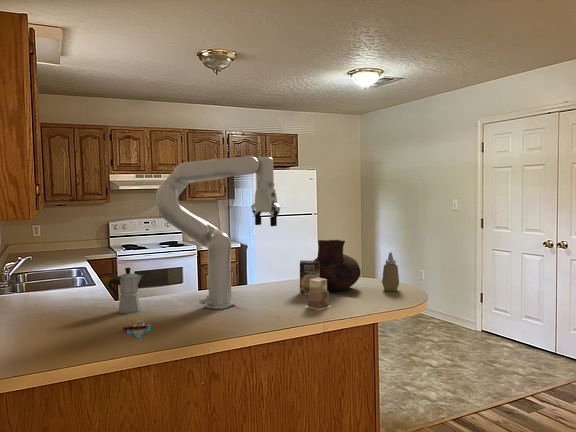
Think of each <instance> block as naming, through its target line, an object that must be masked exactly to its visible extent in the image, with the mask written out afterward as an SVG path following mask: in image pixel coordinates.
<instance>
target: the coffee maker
mask: <svg viewBox="0 0 576 432" xmlns="http://www.w3.org/2000/svg"><path fill="white" fill-rule="evenodd" d="M124 271H125V273H123V274H121V275H118V276H114V277H113V278H111V279H109V281H108V283H107V286H108V288H109V289H110V291H111V292H112V293H113V295H114V296H115V297H118V296H119V293H118V292H117V290H116V289H115V288H114V287H113V286H112V285H118V286H119V287H118V288H119V292H120V297H119V305H118V311H117V312H118V313H119V314H123V315H124V314H125V315H126V314H127V315H129V314H135V313H138V312H140V311H141V304H140V300H139V295H138V293H137V292H138V291H139V289H138V288H139V283H140V281H141V279H142V277H143V275H141V274H136V273H131V267H125V268H124Z"/></svg>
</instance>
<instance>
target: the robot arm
mask: <svg viewBox="0 0 576 432" xmlns="http://www.w3.org/2000/svg"><path fill="white" fill-rule="evenodd" d="M253 174H255V182H256V183H255V184H256V185H255V187H256V188H255V192H254V193H255V194H254V203H253V204H251V206H250V209H251V211H252V213H253V216H254V225H255V226H260V225H262V213H269V214H270V216H269V219H270V220H269V221H270V222H269V224H270V227H277V226H278V225H277V223H278V220H277V217H278V216H279V214H280V210H281V206H280V205H279V203H278V198H277V193H276V192H277V191H276V189H275V183H274V179H275V178H274V159H273V157H271V156H270V157H269V156H258V157H255V156H252V155H243V156H237V157H229V158H226V157H225V158H213V159H205V160H197V161H196V160H195V161H194V160H193V161H185V162H181V163H179V164H178V165H176V166H175V168H174V169H173V170H172V172H171V173H170V174H169V175H168V177H167V178H166V179H165V180H164V181H163V182H162V183H161V185H159V186H158V188H157V190H156V194H155V195H156V199H155V200H156V207H157V210H158V214H160V216H161V217H162V219H163V220H164V221H166V222H167V223H168V224H170V225H171V226H173V227H174V228H176V229H178V231H180V232H182V233H184V234H185V235H186V236H188V238H190V239H192V240H194V241H196V242H198V243H199V244H200V245H202V246H204V247H206V248H207V280H208V281H207V282H208V295H206V298H204V299H200V300H199V305H201V306H202V305H204V304H205V307H206V308H207V309H212V310H223V309H229V308H232V307H235V304H236V301H235V300H233V299H232V269H231V267H232V266H231V265H232V264H231V258H232V257H231V256H232V255H231V254H232V242H231V239H230V237H229V235H228V234H227V233H225V232H224V231H222V230H221V229H219V228H217V227H216V226H215V225H213V224H211V223H209V222H208V221H207V220H205V219H204V218H202V217H200V216H197V215H195V214H194V213H192V212H191V211H189V210H187V209H186V208H185V207H183V206H182V205H181V204H180V203H179V201H178V199H179V196H180V195H181V194H182V193H183V192H184V190H185V189H186V187H187V186H188V185H189V184H190V183H192V184H193V183H198V182H206V181H215V180H216V181H217V180H222V179H225V178H229V177H230V178H231V177H237V176H245V175H253Z"/></svg>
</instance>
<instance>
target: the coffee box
mask: <svg viewBox="0 0 576 432" xmlns="http://www.w3.org/2000/svg"><path fill="white" fill-rule="evenodd" d="M314 278H320V261H314V260H300V261H299V296H308V292H309V291H310V287H309V280H310V279H314Z"/></svg>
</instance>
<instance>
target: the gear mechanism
mask: <svg viewBox="0 0 576 432" xmlns="http://www.w3.org/2000/svg"><path fill="white" fill-rule="evenodd" d="M141 317H142V318H141V319H139V320H135V324H133V325H131V326H123V327H122V330H123V331H126V332H127V334H129V335H130V334H133V335H134V337H136V339H139V340H140V339H141V337H142V336H144V333H147V332H151V330H152V329H151V328H152V327H151V324H145V320H144V317H145V316H144V315H143V316H141Z"/></svg>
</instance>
